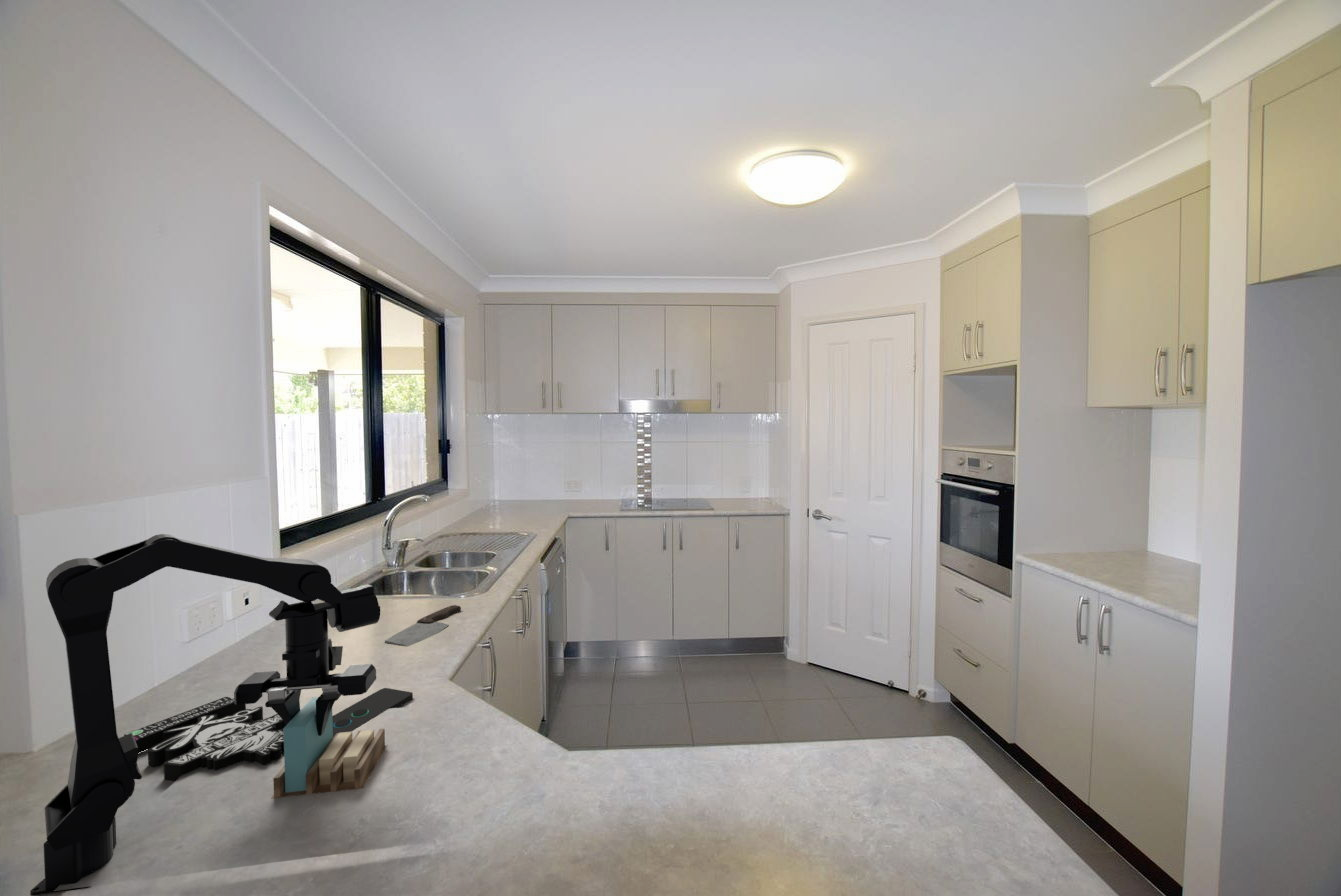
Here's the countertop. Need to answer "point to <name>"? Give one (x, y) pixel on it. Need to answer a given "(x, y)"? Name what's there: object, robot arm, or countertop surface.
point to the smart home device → (369, 709)
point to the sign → (211, 738)
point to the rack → (336, 771)
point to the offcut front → (356, 754)
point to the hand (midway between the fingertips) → (309, 735)
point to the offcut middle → (333, 756)
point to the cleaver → (423, 628)
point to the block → (303, 745)
